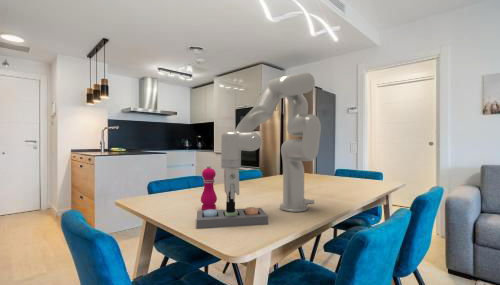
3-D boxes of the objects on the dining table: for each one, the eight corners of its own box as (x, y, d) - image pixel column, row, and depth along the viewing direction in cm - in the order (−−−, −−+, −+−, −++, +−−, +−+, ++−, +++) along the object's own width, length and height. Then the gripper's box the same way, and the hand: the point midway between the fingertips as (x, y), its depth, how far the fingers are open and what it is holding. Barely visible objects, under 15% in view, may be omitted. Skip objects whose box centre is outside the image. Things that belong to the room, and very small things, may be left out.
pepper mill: (213, 211, 112) (213, 165, 112) (198, 210, 113) (198, 165, 113) (219, 207, 119) (219, 164, 119) (204, 206, 120) (204, 163, 120)
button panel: (260, 214, 107) (260, 207, 107) (268, 224, 95) (268, 216, 95) (197, 218, 102) (197, 210, 102) (196, 228, 91) (196, 220, 91)
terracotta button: (256, 214, 103) (256, 207, 103) (259, 218, 98) (259, 210, 98) (244, 215, 102) (244, 207, 102) (246, 218, 97) (246, 211, 97)
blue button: (216, 216, 100) (216, 208, 100) (217, 220, 95) (217, 212, 95) (203, 217, 99) (203, 209, 99) (203, 221, 94) (203, 213, 94)
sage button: (236, 217, 102) (236, 209, 102) (238, 221, 97) (238, 213, 97) (224, 218, 101) (224, 210, 101) (225, 222, 96) (225, 214, 96)
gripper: (243, 166, 92) (243, 217, 92) (237, 162, 107) (237, 206, 107) (222, 166, 90) (222, 218, 91) (219, 162, 105) (219, 207, 105)
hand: (230, 211), depth 99 cm, fingers closed
